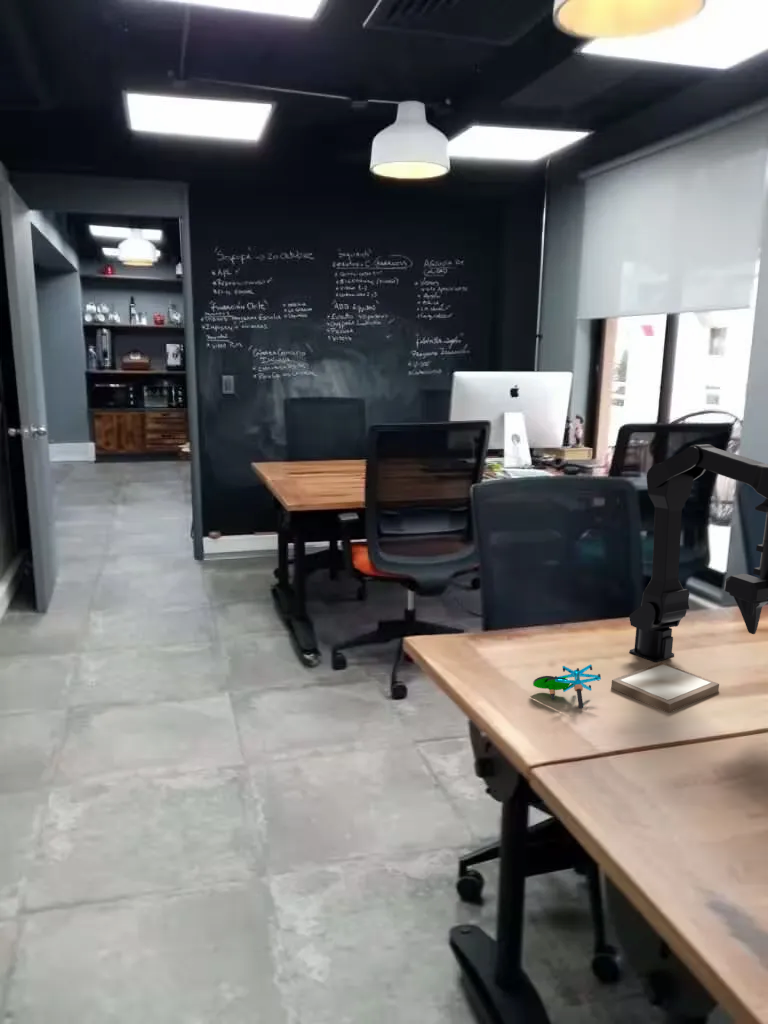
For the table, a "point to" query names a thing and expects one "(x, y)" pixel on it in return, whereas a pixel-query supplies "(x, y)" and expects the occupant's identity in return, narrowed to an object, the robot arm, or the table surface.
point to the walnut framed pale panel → (665, 686)
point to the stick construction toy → (567, 682)
